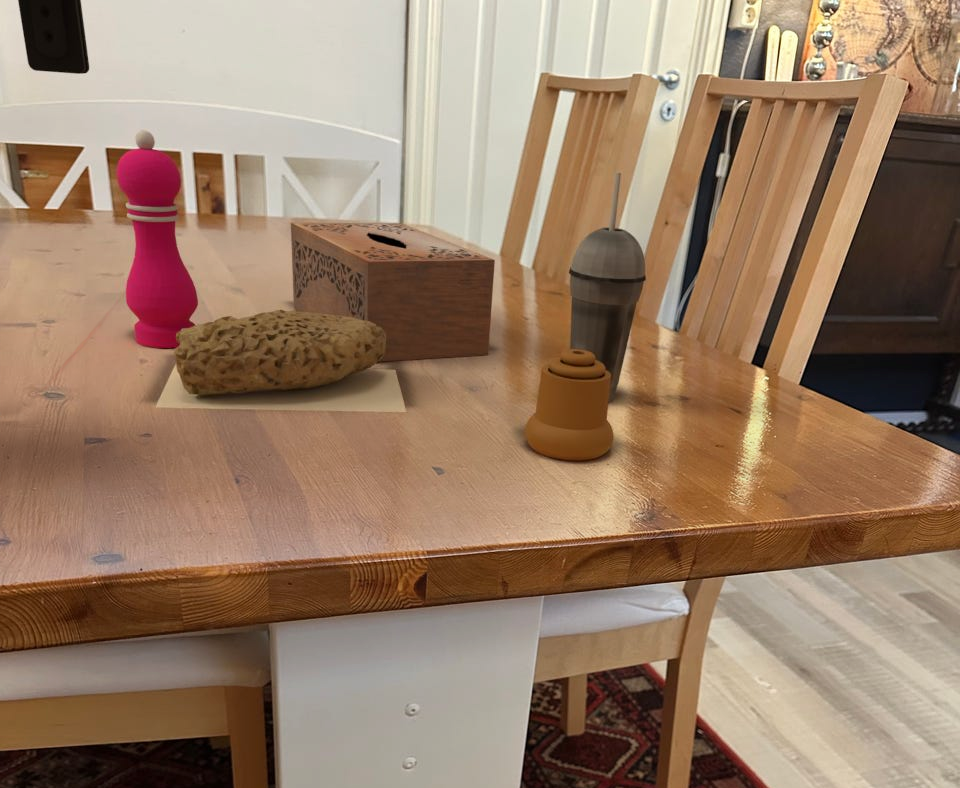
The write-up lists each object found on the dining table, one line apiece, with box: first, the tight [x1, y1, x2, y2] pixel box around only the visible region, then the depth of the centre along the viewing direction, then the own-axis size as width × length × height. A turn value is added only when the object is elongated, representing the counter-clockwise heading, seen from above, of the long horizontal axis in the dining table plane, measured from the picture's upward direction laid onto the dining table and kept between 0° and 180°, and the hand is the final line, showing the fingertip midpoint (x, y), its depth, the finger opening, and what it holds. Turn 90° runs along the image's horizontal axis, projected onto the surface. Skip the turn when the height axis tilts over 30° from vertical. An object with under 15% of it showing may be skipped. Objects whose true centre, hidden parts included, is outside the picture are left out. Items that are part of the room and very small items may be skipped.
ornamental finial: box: [524, 348, 614, 462], centre depth 77 cm, size 8×8×8 cm
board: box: [154, 363, 407, 414], centre depth 89 cm, size 22×14×1 cm, turn 99°
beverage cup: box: [568, 172, 647, 403], centre depth 88 cm, size 7×7×20 cm
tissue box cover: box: [290, 222, 496, 363], centre depth 108 cm, size 26×14×10 cm, turn 27°
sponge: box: [173, 309, 386, 395], centre depth 88 cm, size 13×8×20 cm
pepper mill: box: [116, 129, 199, 349], centre depth 95 cm, size 7×7×20 cm
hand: (60, 71), depth 57 cm, fingers closed
